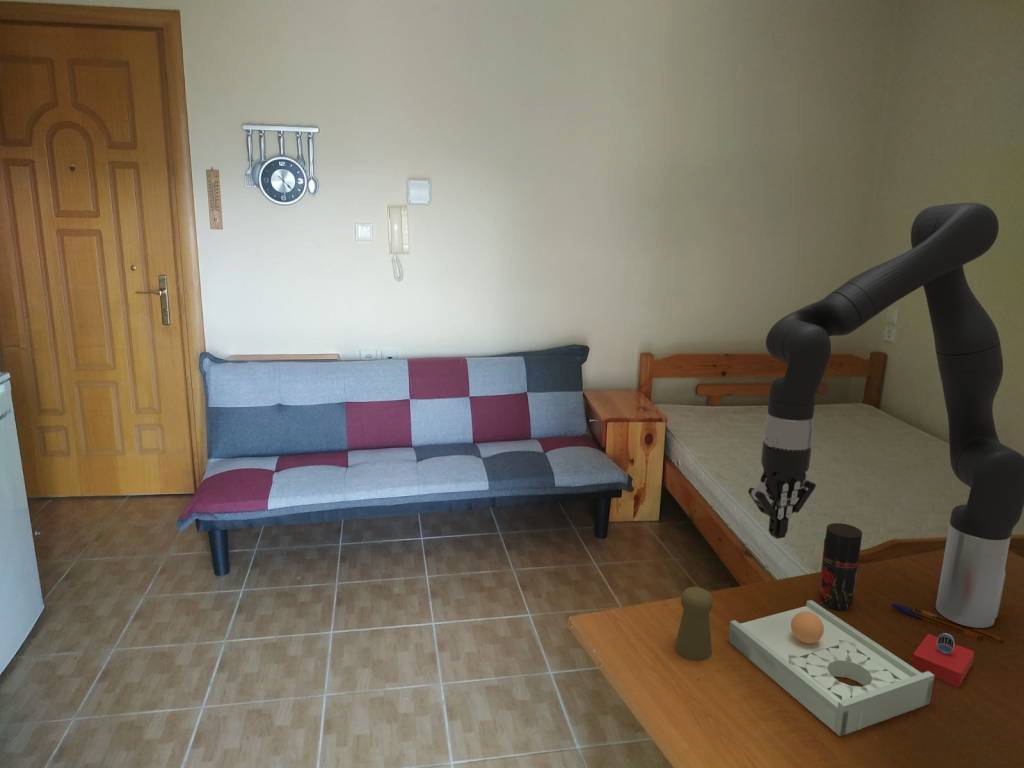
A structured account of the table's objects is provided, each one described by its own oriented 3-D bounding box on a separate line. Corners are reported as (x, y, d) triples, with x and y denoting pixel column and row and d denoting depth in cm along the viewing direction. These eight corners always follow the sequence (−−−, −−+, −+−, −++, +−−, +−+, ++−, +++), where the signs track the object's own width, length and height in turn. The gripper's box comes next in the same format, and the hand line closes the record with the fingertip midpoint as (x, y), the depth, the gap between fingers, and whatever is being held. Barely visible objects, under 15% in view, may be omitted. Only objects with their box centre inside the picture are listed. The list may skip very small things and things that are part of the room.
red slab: (925, 648, 118) (931, 615, 117) (971, 666, 114) (978, 632, 112) (910, 669, 113) (916, 635, 111) (958, 689, 108) (964, 654, 107)
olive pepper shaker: (714, 644, 119) (719, 586, 116) (708, 664, 114) (713, 604, 111) (679, 635, 121) (682, 579, 119) (671, 654, 116) (675, 596, 113)
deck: (808, 619, 126) (811, 594, 125) (930, 704, 105) (935, 675, 103) (728, 641, 120) (730, 616, 118) (840, 737, 98) (844, 707, 97)
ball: (805, 629, 118) (808, 603, 117) (828, 645, 114) (832, 618, 113) (782, 635, 116) (785, 609, 115) (805, 652, 112) (808, 625, 111)
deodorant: (856, 612, 128) (866, 538, 125) (821, 609, 130) (831, 535, 126) (847, 596, 134) (857, 524, 130) (815, 592, 135) (823, 521, 132)
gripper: (801, 429, 121) (791, 521, 125) (740, 438, 116) (731, 533, 120) (835, 442, 114) (823, 539, 118) (772, 452, 109) (761, 552, 113)
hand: (777, 536), depth 119 cm, fingers closed
